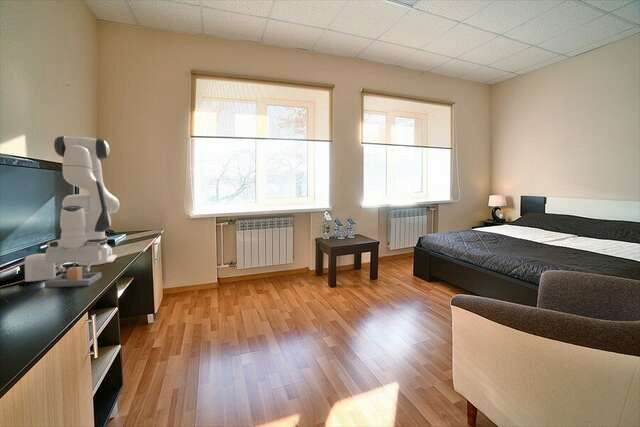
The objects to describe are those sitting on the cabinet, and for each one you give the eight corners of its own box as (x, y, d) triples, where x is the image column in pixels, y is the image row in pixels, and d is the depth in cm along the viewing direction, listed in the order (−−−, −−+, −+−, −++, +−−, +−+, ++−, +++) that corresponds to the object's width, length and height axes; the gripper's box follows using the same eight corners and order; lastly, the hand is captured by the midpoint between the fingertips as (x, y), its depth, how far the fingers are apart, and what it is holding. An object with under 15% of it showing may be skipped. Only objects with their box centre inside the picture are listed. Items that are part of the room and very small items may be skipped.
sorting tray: (61, 279, 133) (61, 273, 133) (101, 277, 138) (101, 272, 137) (44, 287, 122) (44, 282, 122) (88, 285, 126) (88, 280, 126)
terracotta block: (72, 279, 131) (71, 267, 130) (82, 279, 132) (81, 266, 132) (67, 282, 127) (66, 269, 127) (77, 282, 128) (77, 269, 128)
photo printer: (56, 277, 136) (55, 251, 135) (54, 279, 132) (53, 253, 131) (26, 280, 130) (25, 253, 129) (23, 282, 126) (22, 255, 125)
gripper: (104, 240, 134) (104, 268, 135) (51, 240, 129) (52, 270, 130) (97, 243, 128) (98, 272, 129) (42, 243, 122) (43, 274, 124)
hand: (75, 271), depth 130 cm, fingers open, 8 cm apart
